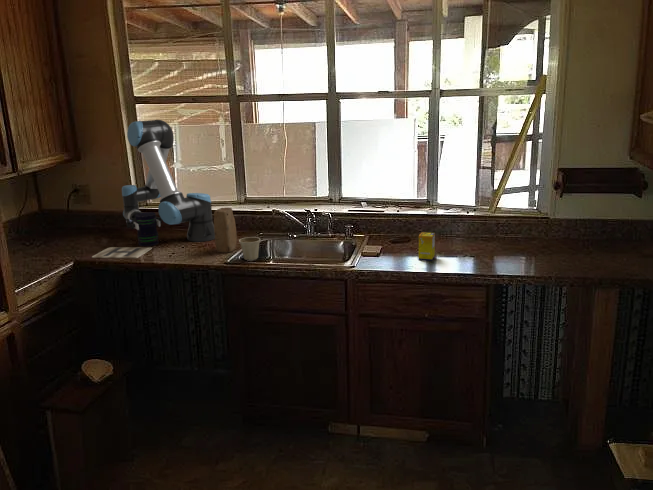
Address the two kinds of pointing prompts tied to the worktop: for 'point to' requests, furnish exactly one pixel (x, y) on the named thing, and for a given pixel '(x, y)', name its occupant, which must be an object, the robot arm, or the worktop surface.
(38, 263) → the worktop surface
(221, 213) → the block
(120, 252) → the board
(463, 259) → the worktop surface
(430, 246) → the supplement box
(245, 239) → the flower pot
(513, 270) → the worktop surface
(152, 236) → the dark blue can
